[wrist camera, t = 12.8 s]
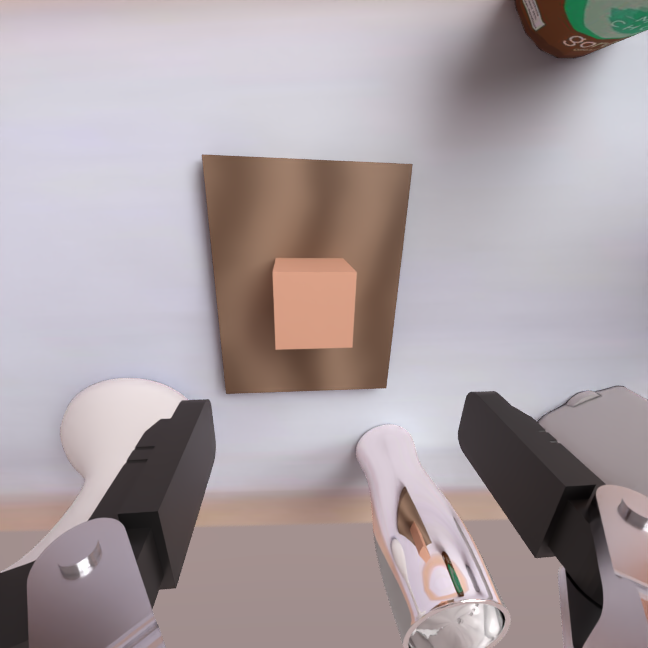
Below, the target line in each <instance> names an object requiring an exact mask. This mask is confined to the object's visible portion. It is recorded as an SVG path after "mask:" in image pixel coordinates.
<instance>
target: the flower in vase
mask: <svg viewBox="0 0 648 648" xmlns="http://www.w3.org/2000/svg"><path fill="white" fill-rule="evenodd" d="M182 400H188V399H187V398H186V397H185V396H183V395H182V394H181V393H179V392H178V391H176V390H174V389H173V388H171V387H169V386H166V385H164V384H162V383H158V382H155V381H152V380H147V379H139V378H117V379H110V380H106V381H101V382H99V383H96V384H93V385H91V386H89V387H88V388H86V389H84V390H83V391H81V392H80V393H79V394H77V395H76V396H75V397H74V399H73V400H72V401H71V402H70V404H69V405H68V407H67V409H66V411H65V414H64V417H63V419H62V423H61V427H60V437H61V443H62V446H63V449H64V451H65V453H66V456H67V458H68V460H69V462H70V463H71V464H72V466H73V467H74V468H75V469H76V470H77V471H78V473H79V474H80V475H81V476H82V477H83V478H85V481H84V485H83V487H82V489H81V491H80V493H79V494H78V496H77V497H76V499H75V500H74V502H73V503H72V505H71V506H70V507H69V509H68V510H67V511H66V513H65V514H64V515H63V516H62V518H61V519H60V520H59V521H58V522H57V524H56V525H55V526H54V527H53V528H52V529H51V530H50V531H49V533H48V534H47V535H46V536H45V537H44V538H43V539H42V540H41V541H40V542H39V543H38V544H37V545H36V546H35V547H34V548H33V549H32V550H31V551H30V552H28V553H27V554H26V555H24V556H23V557H22V558H21V559H19V560H18V561H17V562H16V563H14V564H12V565H11V566H9V567H8V568H6V569H4V570H3V571H1V572H0V573H2V572H4V571H7V570H10V569H13V568H16V567H19V566H22V565H25V564H27V563H30V562H32V561H35V560H37V558H38V557H39V555H40V554H41V553H42V552H43V551H44V549H45V548H46V547H47V546H49V545H50V544H51V543H52V542H53V541H54V540H55V539H56V538H58V537H59V536H60V535H62V534H63V533H65V532H66V531H68V530H69V529H71V528H73V527H75V526H77V525H79V524H81V523H83V522H86V521H88V519H89V518H90V517H91V515H92V513H93V512H94V510H95V509H96V507H97V506H98V504H99V503H100V501H101V499H102V498H103V496H104V495H105V493H106V492H107V490H108V489H109V487H110V485H111V484H112V482H113V481H114V479H115V478H116V476H117V474H118V473H119V471H120V470H121V468H122V467H123V465H124V464H126V462H127V459H128V457H129V456H130V454H131V453H132V451H133V450H135V446H136V445H137V443H138V442H139V440H140V439H141V437H142V435H143V434H144V432H145V431H146V430H148V429H149V428H150V427H151V426H153V425H154V424H155V423H156V422H157V421H159V420H160V419H170V418H171V417H172V415H173V414H174V412H175V410H176V408H177V406H178V405H179V403H180V402H181V401H182Z"/></svg>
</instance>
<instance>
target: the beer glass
mask: <svg viewBox="0 0 648 648" xmlns="http://www.w3.org/2000/svg"><path fill="white" fill-rule="evenodd" d="M356 457H357V460H358V462H359V464H360V466H361V468H362V470H363V472H364V474H365V476H366V479H367V482H368V486H369V490H370V499H371V510H372V522H373V532H374V540H375V547H376V553H377V558H378V563H379V567H380V571H381V575H382V579H383V583H384V586H385V590H386V594H387V596H388V600H389V603H390V606H391V609H392V613H393V615H394V619H395V621H396V624H397V627H398V631H399V634H400V637H401V640H402V644H403V648H492V647H494V646H495V645H496V644H497V643H498V642H500V640H501V639H502V638H503V637H504V636H505V634H506V633H507V631H508V630H509V627H510V623H511V617H510V614H509V612H508V610H507V608H506V606H505V604H504V602H503V600H502V598H501V596H500V594H499V592H498V589H497V587H496V585H495V583H494V581H493V578H492V576H491V574H490V572H489V570H488V568H487V566H486V564H485V562H484V559H483V557H482V555H481V554H480V552H479V550H478V548H477V546H476V544H475V542H474V540H473V538H472V536H471V535H470V533H469V531H468V530H467V528H466V526H465V525H464V523H463V521H462V519H461V518H460V517H459V515H458V514H457V512H456V511H455V509H454V508H453V507H452V505H451V504H450V502H449V501H448V500H447V498H446V497H445V496H444V495H443V493H442V492H441V491H440V489H439V488H438V487H437V486H436V484H435V483H434V482H433V480H432V479H431V478H430V477H429V475H428V474H427V472H426V471H425V470H424V468H423V466H422V465H421V463H420V461H419V458H418V456H417V452H416V448H415V444H414V441H413V438H412V436H411V434H410V433H409V432H408V431H407V430H406V429H404V428H403V427H401V426H398V425H392V424H387V425H381V426H377V427H375V428H372V429H371V430H369V431H368V432H366V433H365V434H364V435H363V436H362V437H361V438H360V440H359V441H358V443H357V446H356Z"/></svg>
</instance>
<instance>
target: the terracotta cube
mask: <svg viewBox="0 0 648 648" xmlns="http://www.w3.org/2000/svg"><path fill="white" fill-rule="evenodd" d="M356 279H357V272H356V271H355V270H354V269H353V268H352V267H351V266H350V265H349V264H348V263H347V262H346V261H345V259H344V258H276V259H275V264H274V268H273V298H274V323H275V348H276V350H282V349H319V348H352V346H353V329H354V312H355V296H356Z"/></svg>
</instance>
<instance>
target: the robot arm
mask: <svg viewBox="0 0 648 648" xmlns="http://www.w3.org/2000/svg"><path fill="white" fill-rule="evenodd" d="M458 440H459V444H460V447H461V449H462V451H463V453H464V454H465V456H466V457H467V459H468V460H469V462H470V463H471V465H472V466H473V467H474V469H475V470H476V472H477V473H478V475H479V476H480V478H481V479H482V481H483V482H484V484H485V485H486V487H487V488H488V489H489V491H490V492H491V494H492V495H493V497H494V498H495V500H496V501H497V503H498V504H499V506H500V507H501V508H502V510H503V511H504V513H505V514H506V516H507V517H508V519H509V520H510V522H511V523H512V524H513V526H514V527H515V529H516V530H517V532H518V533H519V535H520V536H521V538H522V539H523V541H524V542H525V544H526V545H527V547H528V548H529V549H530V551H531V552H532V554H533V555H534V557H535V558H541V557H553V556H556V557H557V559H558V560H559V561H560V563H561V566H560V568H559V571H558V582H559V595H560V606H561V619H562V632H563V643H564V644H563V645H564V648H648V497H646V496H645V495H643V494H641V493H638V492H636V491H634V490H631V489H628V488H625V487H622V486H617V485H606V484H605V483H604V482H603V481H602V480H601V479H600V478H599V477H597V476H596V475H595V474H594V473H593V472H592V471H591V470H590V469H589V468H587V467H586V466H585V465H584V464H583V463H582V462H581V461H580V460H579V459H577V458H576V457H575V456H574V455H573V454H572V453H571V452H570V451H569V450H567V449H566V448H565V447H564V446H563V445H562V444H561V443H558V442H557V440H556V439H555V438H554V437H553V436H552V435H551V434H550V433H549V432H546V431H545V429H544V428H543V427H542V426H541V425H540V424H539V423H537V422H536V421H535V420H534V419H533V418H532V417H530V416H529V415H527V414H525V413H523V412H522V411H520V410H518V409H517V408H515V407H512V406H511V405H510V404H509V403H508V402H507V401H506V400H505V399H504V398H503V397H502V396H501V395H499V394H498V393H497V392H494V391H488V392H470V393H468V395H467V396H466V400H465V404H464V408H463V412H462V417H461V421H460V425H459V430H458ZM215 450H216V441H215V432H214V424H213V416H212V408H211V403H210V401H209V400H208V399H207V400H182V401H181V402H180V403H179V405H178V406H177V408H176V410H175V412H174V414H173V415H172V417H171V418H170V419H160V420H159V421H157V422H156V423H155V424H154V425H153V426H151V427H150V428H149V429H148V430H146V431H145V432H144V434H143V435H142V437H141V439H140V440H139V442H138V443H137V445H136V446H135V450H133V451H132V453H131V454H130V456H129V457H128V459H127V462H126V464H124V465H123V467H122V468H121V470H120V471H119V473H118V474H117V476H116V478H115V479H114V481H113V482H112V484H111V485H110V487H109V489H108V490H107V492H106V493H105V495H104V496H103V498H102V499H101V501H100V503H99V504H98V506H97V507H96V509H95V510H94V512H93V513H92V515H91V517H90V518H89V519H88V521H86V522H83V523H81V524H79V525H77V526H75V527H73V528H71V529H69V530H68V531H66V532H65V533H63V534H62V535H60V536H59V537H58V538H56V539H55V540H54V541H53V542H52V543H51V544H50V545H49V546H47V547H46V548H45V549H44V551H43V552H42V553H41V554H40V555H39V557H38V558H37V560H35V561H32V562H30V563H27V564H25V565H22V566H19V567H16V568H13V569H10V570H7V571H4V572H2V573H0V648H166V647H165V644H164V641H163V638H162V635H161V632H160V629H159V626H158V625H157V622H156V620H155V617H154V614H153V611H152V609H153V606H154V603H155V600H156V597H157V594H158V591H159V590H160V589H171V588H176V586H177V583H178V580H179V576H180V573H181V569H182V566H183V563H184V560H185V556H186V553H187V550H188V546H189V543H190V540H191V537H192V533H193V530H194V527H195V523H196V520H197V517H198V513H199V510H200V507H201V503H202V500H203V497H204V493H205V490H206V487H207V483H208V480H209V477H210V473H211V470H212V467H213V463H214V459H215Z"/></svg>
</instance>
